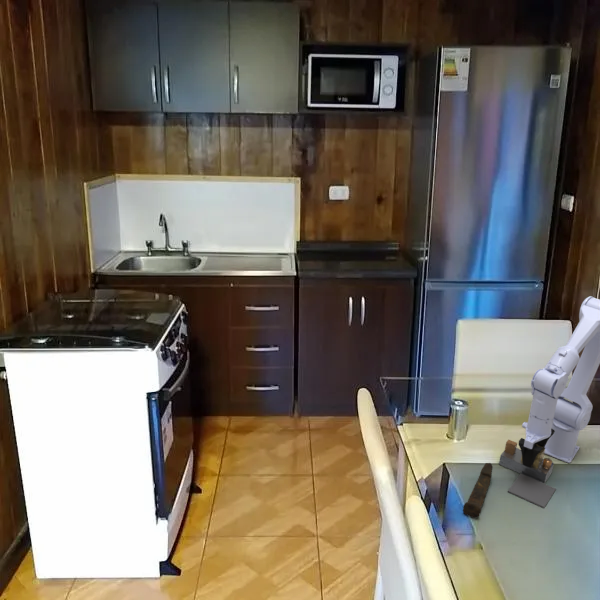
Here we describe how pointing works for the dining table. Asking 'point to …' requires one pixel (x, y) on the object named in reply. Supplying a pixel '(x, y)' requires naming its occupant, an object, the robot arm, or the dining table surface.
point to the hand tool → (478, 492)
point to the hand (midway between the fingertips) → (532, 458)
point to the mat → (532, 490)
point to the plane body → (513, 462)
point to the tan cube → (538, 457)
